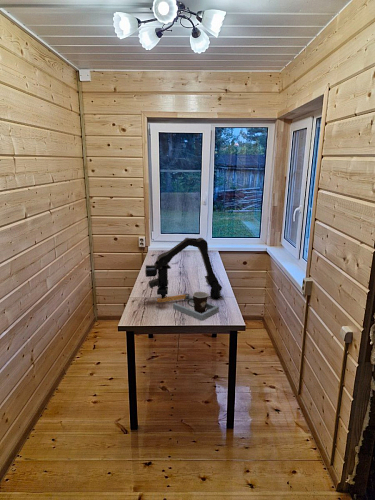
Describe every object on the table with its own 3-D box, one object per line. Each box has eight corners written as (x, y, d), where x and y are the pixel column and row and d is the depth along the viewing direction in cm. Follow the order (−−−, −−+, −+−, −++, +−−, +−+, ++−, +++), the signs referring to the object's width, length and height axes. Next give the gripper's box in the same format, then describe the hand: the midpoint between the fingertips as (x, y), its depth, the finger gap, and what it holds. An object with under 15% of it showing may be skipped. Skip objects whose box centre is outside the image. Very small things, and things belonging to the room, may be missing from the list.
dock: (186, 298, 201) (186, 293, 200) (219, 310, 184) (219, 306, 183) (168, 306, 190) (168, 301, 189) (201, 320, 173) (201, 315, 172)
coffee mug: (206, 307, 189) (207, 291, 186) (208, 314, 180) (208, 297, 178) (187, 307, 188) (187, 291, 186) (187, 314, 180) (187, 297, 177)
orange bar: (188, 296, 200) (188, 293, 199) (190, 298, 197) (190, 295, 197) (156, 301, 193) (156, 297, 193) (157, 303, 190) (157, 299, 190)
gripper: (150, 270, 200) (151, 293, 204) (147, 281, 182) (148, 306, 186) (168, 270, 200) (168, 293, 204) (167, 281, 182) (167, 306, 186)
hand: (163, 299), depth 195 cm, fingers closed
